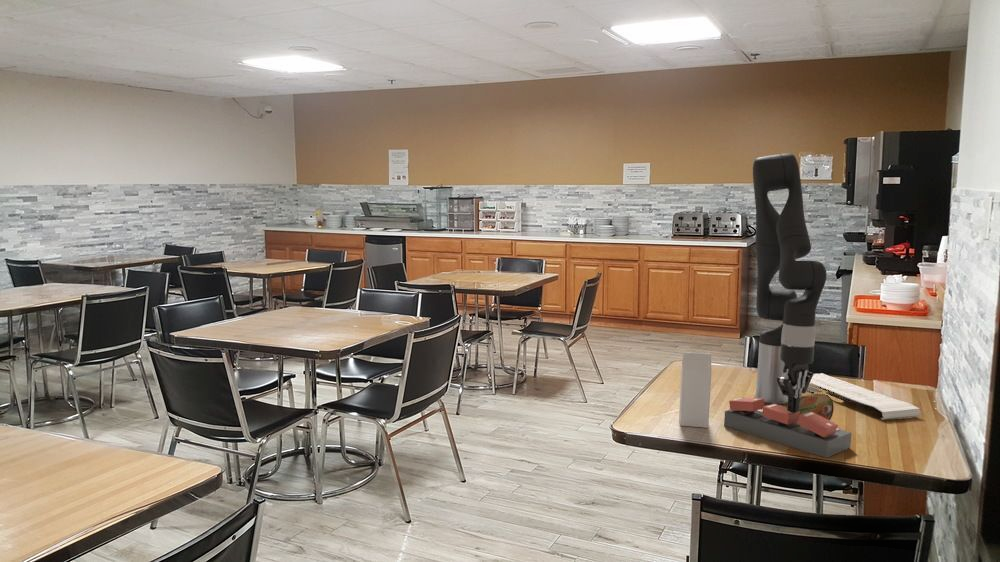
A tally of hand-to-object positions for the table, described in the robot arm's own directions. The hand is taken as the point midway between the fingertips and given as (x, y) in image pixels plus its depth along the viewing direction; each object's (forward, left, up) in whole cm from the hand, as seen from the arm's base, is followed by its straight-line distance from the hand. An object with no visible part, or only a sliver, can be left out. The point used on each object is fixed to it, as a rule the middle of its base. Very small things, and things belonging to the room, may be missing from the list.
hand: (792, 411), depth 178 cm
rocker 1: (0, -13, -2) cm, 13 cm away
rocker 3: (0, +6, -2) cm, 7 cm away
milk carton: (+8, -23, -8) cm, 26 cm away
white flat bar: (-49, -10, -8) cm, 51 cm away
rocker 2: (0, -3, -2) cm, 4 cm away
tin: (-16, -4, -8) cm, 18 cm away
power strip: (-2, -3, -8) cm, 9 cm away
